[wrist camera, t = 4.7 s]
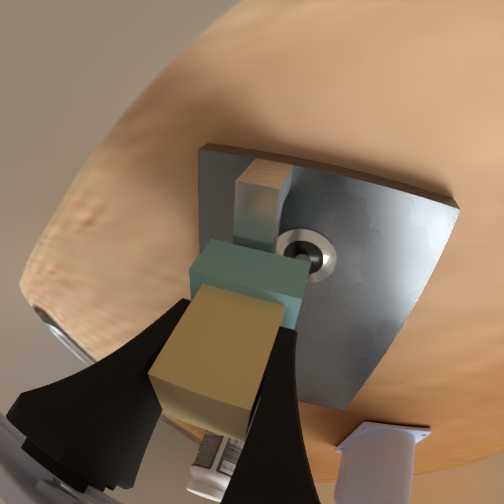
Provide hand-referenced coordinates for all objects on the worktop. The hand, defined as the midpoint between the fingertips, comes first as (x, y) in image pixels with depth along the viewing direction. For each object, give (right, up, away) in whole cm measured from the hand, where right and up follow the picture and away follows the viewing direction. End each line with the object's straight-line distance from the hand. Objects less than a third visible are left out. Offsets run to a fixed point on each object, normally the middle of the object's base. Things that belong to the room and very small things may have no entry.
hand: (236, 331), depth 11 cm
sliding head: (+1, +3, +4) cm, 5 cm away
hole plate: (+3, -1, +8) cm, 8 cm away
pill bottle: (-2, -20, +24) cm, 31 cm away
